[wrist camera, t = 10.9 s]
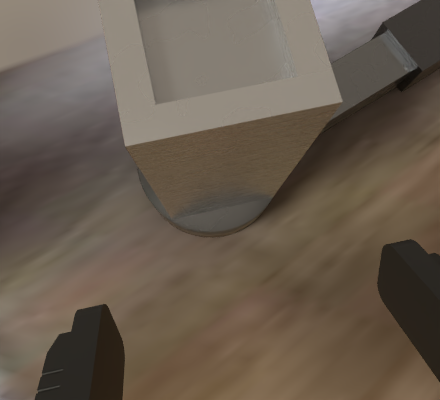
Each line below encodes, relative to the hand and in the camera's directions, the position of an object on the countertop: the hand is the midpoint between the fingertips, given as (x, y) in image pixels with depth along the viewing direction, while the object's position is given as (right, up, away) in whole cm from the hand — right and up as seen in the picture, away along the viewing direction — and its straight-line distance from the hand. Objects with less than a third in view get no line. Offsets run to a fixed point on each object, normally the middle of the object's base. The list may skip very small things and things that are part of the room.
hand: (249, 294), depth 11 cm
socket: (-1, +5, +7) cm, 9 cm away
